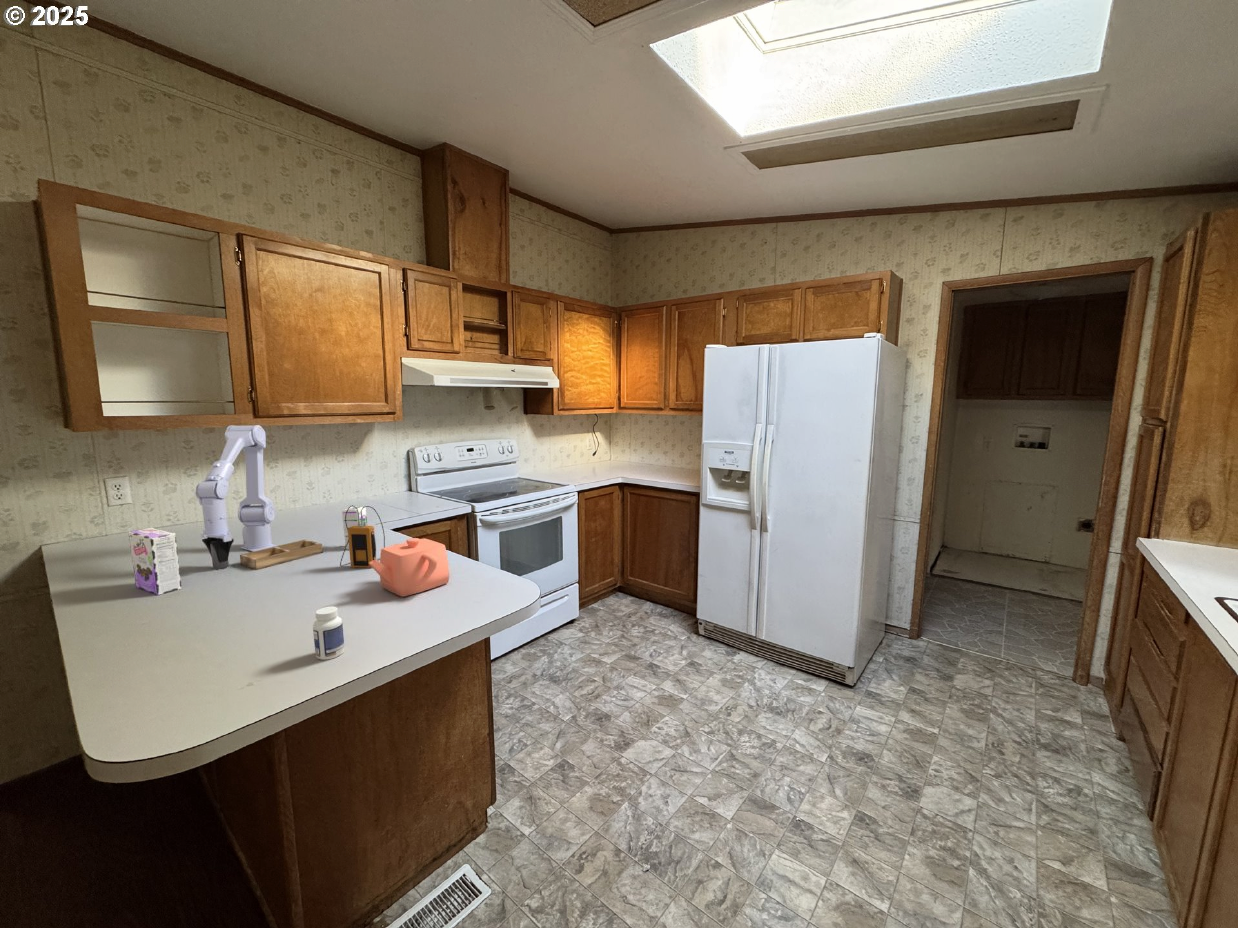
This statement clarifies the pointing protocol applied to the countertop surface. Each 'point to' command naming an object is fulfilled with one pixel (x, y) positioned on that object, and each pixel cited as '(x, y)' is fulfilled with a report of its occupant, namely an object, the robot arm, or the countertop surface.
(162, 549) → the candy box
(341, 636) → the pill bottle
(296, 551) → the cell tray
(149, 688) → the countertop surface
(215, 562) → the battery cell
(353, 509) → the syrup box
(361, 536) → the multimeter
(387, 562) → the teapot
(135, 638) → the countertop surface
